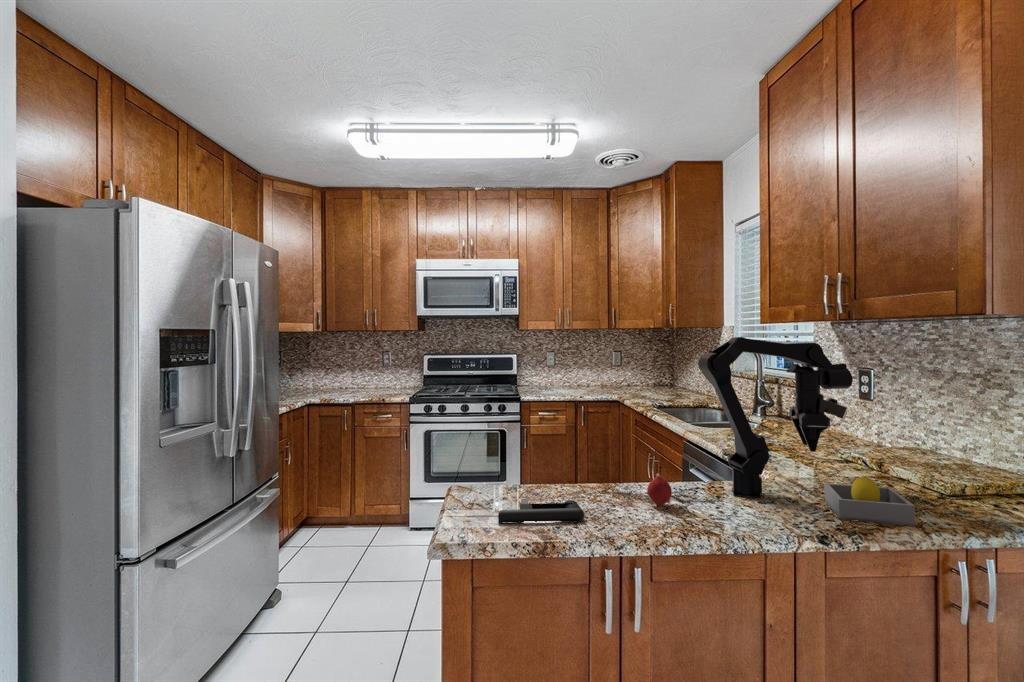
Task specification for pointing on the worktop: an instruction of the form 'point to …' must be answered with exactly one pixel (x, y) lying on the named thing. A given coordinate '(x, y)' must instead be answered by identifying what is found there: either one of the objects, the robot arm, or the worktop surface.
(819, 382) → the robot arm
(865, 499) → the lemon
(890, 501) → the box
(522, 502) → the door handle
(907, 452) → the worktop surface
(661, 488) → the onion
